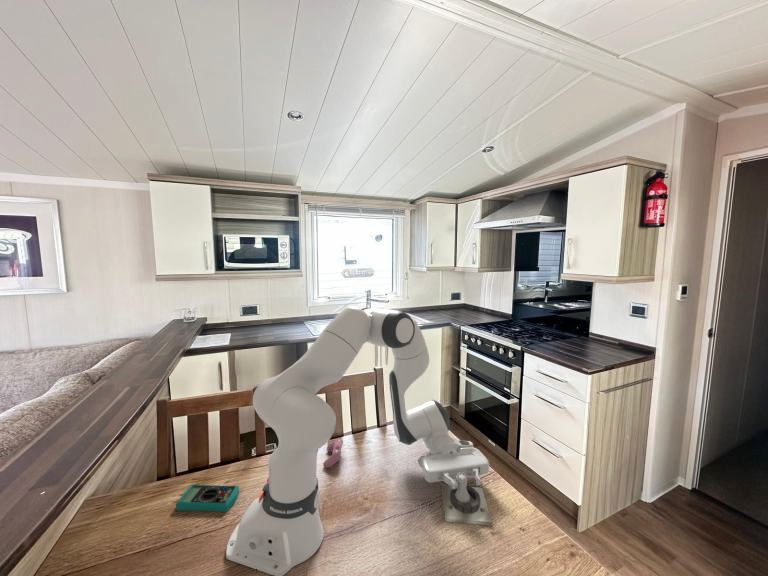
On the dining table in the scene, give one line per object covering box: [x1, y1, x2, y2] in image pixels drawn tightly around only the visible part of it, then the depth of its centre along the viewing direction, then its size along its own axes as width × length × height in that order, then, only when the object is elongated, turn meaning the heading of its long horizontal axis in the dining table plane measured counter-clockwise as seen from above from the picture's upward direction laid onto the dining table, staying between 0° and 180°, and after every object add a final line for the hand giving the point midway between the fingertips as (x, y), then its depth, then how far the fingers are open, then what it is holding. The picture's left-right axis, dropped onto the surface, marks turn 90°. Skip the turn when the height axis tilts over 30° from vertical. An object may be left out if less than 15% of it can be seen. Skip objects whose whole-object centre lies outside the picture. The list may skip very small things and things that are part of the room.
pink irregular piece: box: [322, 438, 344, 469], centre depth 107 cm, size 10×5×7 cm, turn 2°
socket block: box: [440, 484, 493, 526], centre depth 88 cm, size 12×12×3 cm
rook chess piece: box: [455, 472, 470, 504], centre depth 87 cm, size 4×4×8 cm
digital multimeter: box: [175, 484, 240, 513], centre depth 88 cm, size 7×15×3 cm, turn 89°
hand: (467, 485), depth 86 cm, fingers open, 6 cm apart
